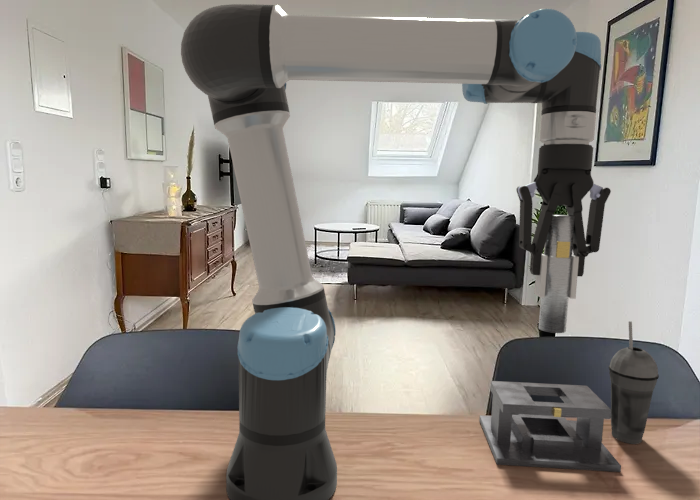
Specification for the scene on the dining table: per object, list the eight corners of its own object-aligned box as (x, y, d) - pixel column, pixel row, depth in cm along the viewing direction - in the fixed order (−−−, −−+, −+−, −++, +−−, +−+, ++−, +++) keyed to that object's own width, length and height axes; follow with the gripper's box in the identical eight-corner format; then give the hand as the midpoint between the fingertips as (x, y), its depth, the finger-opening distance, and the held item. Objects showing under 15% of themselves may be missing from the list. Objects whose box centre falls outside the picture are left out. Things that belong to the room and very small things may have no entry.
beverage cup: (659, 451, 79) (672, 330, 76) (610, 445, 80) (621, 326, 78) (641, 429, 86) (653, 318, 83) (597, 424, 87) (607, 315, 85)
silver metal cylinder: (535, 325, 80) (543, 214, 77) (560, 326, 79) (569, 215, 77) (543, 332, 76) (552, 216, 73) (570, 333, 75) (579, 216, 73)
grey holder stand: (496, 464, 74) (500, 410, 73) (479, 420, 88) (482, 375, 87) (620, 472, 73) (626, 417, 71) (583, 426, 86) (587, 380, 85)
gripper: (514, 141, 71) (505, 299, 74) (637, 142, 70) (622, 303, 73) (502, 145, 78) (494, 289, 81) (613, 147, 77) (600, 292, 80)
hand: (554, 295), depth 77 cm, fingers closed on silver metal cylinder, 4 cm apart
